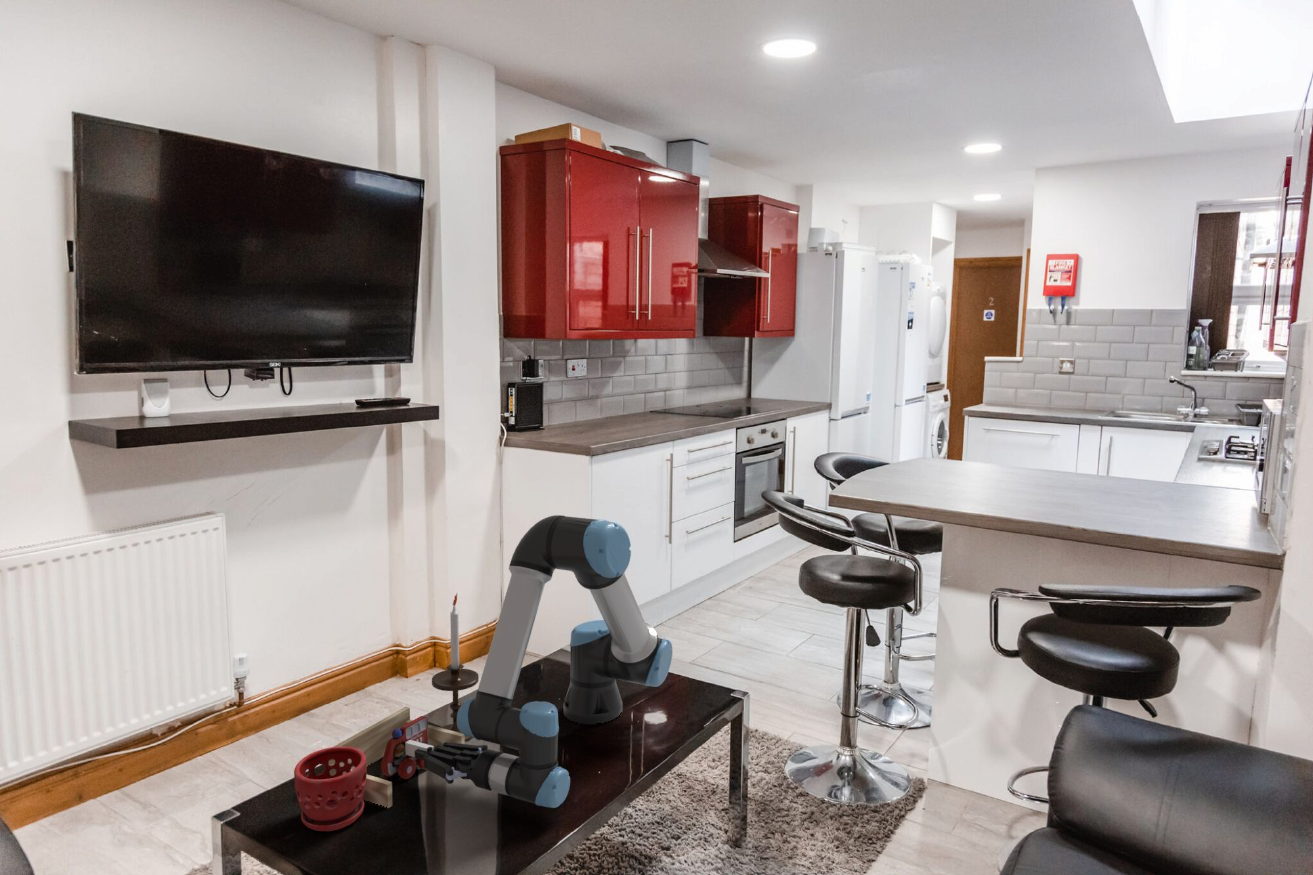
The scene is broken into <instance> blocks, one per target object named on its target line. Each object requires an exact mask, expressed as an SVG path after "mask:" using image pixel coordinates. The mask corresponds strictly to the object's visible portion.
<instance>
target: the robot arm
mask: <svg viewBox="0 0 1313 875" xmlns="http://www.w3.org/2000/svg"><path fill="white" fill-rule="evenodd" d="M630 547H631V540H630V537H629V535H628V532H627V530H626V529H625V528H624V527H623V526H622V525H620V524H619V523H618V522H613V521H609V520H607V519H597V518H596V519H595V518H586V517H585V518H584V517H577V516H576V517H575V516H565V515H560V514H556V515H554V514H553V515H550V516H548V517H544V518H542V519H540V520H538V521H537V522H536V523H535V524H533V526H531V527H530V528H529V529H528V530H527V531H526V533H525V534H524V535H523V536H522V538H520V541H519V542H518V543H517V546H516V547H515V550H514V551H513V553H512V556H511V559H510V562H509V565H508V571H509V572H510V574H511V576H510V579H509V582H508V587H507V589H506V593H505V596H504V600H503V603H502V606H501V609H500V614H499V617H498V619H497V623H496V627H495V630H494V632H493V637H492V641H491V644H490V648H489V650H488V654H487V658H486V660H485V664H484V668H483V671H482V675H481V677H480V681H479V684H478V688H477V691H476V694H475V697H469V698H467V699H465V700H464V701H463V702H462V703H461V704H462V706H461V708H460V709H459V711H458V714H457V727H458V729H459V731H460V732H461V733H462V734H464V735H466V736H469V737H472V739H475V740H477V741H483V742H488V743H491V744H495V745H500V746H503V747H506V748H510V749H514V750H517V751H518V752H519V756H516V755H513V754H511V753H510V754H509V753H505V752H501V751H498V750H494V749H490V748H488V745H486V744H481V745H479V744H478V745H475V744H468V743H467V744H466V743H465V744H459V743H451V742H444V743H443V745H442V746H441V745H437V746H433V745H429V744H424V743H420V742H417V741H413V740H409V741H407V742H406V743H405V749H406V755H409V756H412V757H415V758H417V759H421V760H424V768H425V769H424V770H427V771H429V772H431V773H433V774H434V775H437V776H438V777H440V778H442V779H444V780H445V781H446V783H447V784H449V785H451V784H453V783H454V780H455V779H459V778H460V779H461V780H471V782H472V783H473V785H474V786H476V788H479V789H482V790H485V791H490V792H494V793H498V794H500V795H505V796H509V797H511V798H514V799H518V800H521V801H523V802H527V803H531V804H534V805H536V806H539V807H540V806H541V807H545V808H551V809H554V808H558V807H559V806H560V805H562V804H563V803H564V801H565V800H566V798H567V796H568V794H569V791H570V785H571V777H570V776H569V774H570V773H569V771H568V770H567V769H565V768H563V767H562V766H559V759H558V745H559V744H558V743H559V730H560V726H559V713H558V712H559V711H558V708H557V707H556V706H555V704H553V703H551V702H548V701H539V700H536V701H530V702H527V703H525V704H524V705H522V707H521V708H517V707H513V706H512V703H513V699H514V695H515V691H516V687H517V684H518V681H519V677H520V674H521V669H522V667H523V662H524V659H525V656H526V652H527V650H528V649H527V648H528V646H529V641H530V638H531V635H532V631H533V628H534V624H535V621H536V616H537V614H538V611H539V606H540V602H541V600H542V596H543V593H544V588H545V586H546V584H547V583H548V582H550V581H551V580H552V577H553V574H554V571H555V570H561V571H567V572H568V571H569V572H572V573H573V574H574V576H575V578H576V581H577V582H578V584H579V585H580V586H581V587H583V588H584V589H587V590H589V591H590V594H591V596H592V599H593V600H594V602H595V605H596V606H597V608H598V610H599V613H600V615H601V616H602V619H597V620H589V621H586V622H583V623H579V624H578V625H576V626H574V628H572V630H571V632H570V642H569V648H570V652H569V653H570V654H569V655H570V658H569V659H570V660H569V664H570V665H569V666H570V680H569V681H570V682H569V686H568V689H567V692H566V696H565V698H564V702H563V715H564V718H566V717H567V718H566V719H568V720H569V721H572V722H573V721H574V723H576V722H577V724H581V723H585V724H584V725H597V724H596V723H602V724H605V723H604V722H607V721H610V720H612V719H614V718H616V717H618V716H619V715H620V713H621V712H622V713H623V700H622V697H621V694H620V691H619V687H618V684H617V680H619V681H623V682H628V683H634V684H638V685H644V687H653V688H655V687H659V686H661V685H662V684H663V683H664V682H665V680H666V678H667V677H668V674H669V672H670V667H671V665H672V664H671V663H672V658H673V645H672V644H673V643H672V642H671V641H670V640H669V639H666V638H665V637H663V638H661V637H659V636H658V634H657V632H656V630H655V628H654V627H653V626H652V625H651V624H649V623H647V622H645V619H644V617H643V615H642V612H641V610H640V607H639V605H638V603H637V600H636V598H635V595H634V593H633V591H632V588H631V586H630V584H629V581H628V579H627V576H626V574H625V572H626V571H627V569H628V568H629V565H630V561H631V556H632V550H630ZM620 716H621V715H620ZM618 718H619V717H618ZM610 722H611V721H610ZM607 723H608V722H607ZM449 747H450V748H449Z"/></svg>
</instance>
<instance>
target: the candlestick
mask: <svg viewBox="0 0 1313 875" xmlns="http://www.w3.org/2000/svg"><path fill="white" fill-rule="evenodd" d="M457 600H458V593H456V594H455V595H454V599H453V601H452V611H450V616H449V618H450V664H448V665H447V666H446V670H442V671H440V672H437V673H436V674H434V675H433V676H432V677H431V685H432V688H435V689H437V690H439V691H444V692H452V702H451V703H450V704H449V709H450V710H451V711H452V712H451V713H450V718H452V723H450V724H446V725H443V726H442V727H441V728H443V729H447V730H451V731H455V732H458V733H461V732H460V731H459V729H458V727H457V714H458V711H459V709H460V708H461V707H462V704H463V703H462V702H460V701H459V691H464V690H467V689H470V688H473V687H474V686H476V685H477V684H478V683H479V682H480V681H479V673H478V672H477V671H475V670H472V669H468V668H464V667H465V666H464V665H463V664H462V663H460V635H459V634H460V631H459V630H460V629H459V628H460V624H459V623H460V621H459V619H460V618H459V616H460V615H459V614H460V613H459V611H458V610H457V607H456V605H457V602H458V601H457ZM472 739H473V738H472V737H469V736H466V735H465V743H467V742H469V741H470V740H472Z"/></svg>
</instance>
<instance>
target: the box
mask: <svg viewBox="0 0 1313 875" xmlns="http://www.w3.org/2000/svg"><path fill="white" fill-rule="evenodd" d="M413 720H414V719H411V708H410V707H409V706H404V707H403V708H401V709H400V710H397V711H395V712H394V713H391V715H388V716H387V717H385V718H383V719H381V720H379V721H377V722H376V723H374V724H372V725H370V726H368V727H367V728H364V729H363V730H361V731H359V732H358V733H356V734H354V735H352V736H350V737H348V738H347V739H345V740H343V741H341V742H339V743H337V744H336V745H334V746H333V747H340V746H345V747H353V748H357V749H359V750H361V751H362V752H363V753H364V754H365V757H366V766H367V767H369V766H371V765H372V764H374V763H375V762H378V760H380V759H383V756H384V753H385V749H386V746H387V742H388V741H389V740H390V739H391V738H393V737H392V732H393V730H395V729H400V728H401V727H402V726H404V725H405V724H407V723H409V722H411V721H413ZM427 735H428V744H429V745H433V746H437V745H441V746H442V745H443V743H444V742H451V743H459V744H466V742H465V735H464V734H462V733H458V732H455V731H451V730H447V729H443V728H442V727H439V726H435V725H431V724H428V728H427ZM400 743H401V742H400ZM449 748H450V747H449ZM348 762H349V763H352V761H351V759H348ZM371 763H372V764H371ZM328 764H329V765H334V764H335V760H333V759H332V760H329V762H328ZM368 765H369V766H368ZM340 766H344V763H343V762H341V763H340ZM355 768H356V767H354V766H353V767H352V768H351V771H352V770H354V769H355ZM335 774H336V770H335V769H331V770H330V775H335ZM344 774H347V773H346V772H343V775H344ZM362 799H363V801H364V800H365V801H364V802H367V801H370V802H372V803H371V804H373V803H375V804H374V805H376V804H378V805H377V806H380V805H382V806H381V807H383V806H384V807H383V808H386V807H387V808H386V809H389V808H391V807H392V806H393V782H392V781H389V780H387V779H383V778H381V777H377V776H373V775H370V774H367V778H366V786H365V791H364V794H363V797H362ZM370 802H369V803H370Z"/></svg>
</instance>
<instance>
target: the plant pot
mask: <svg viewBox="0 0 1313 875" xmlns="http://www.w3.org/2000/svg"><path fill="white" fill-rule="evenodd" d="M332 759H333V760H335V764H334V765H329V764H328V762H329V760H332ZM348 759H351V761H352V763H349V762H348ZM341 762H343V763H344V766H340V763H341ZM319 765H323V767H324V769H323V771H322V773H319V774H316V773H315V771H316V768H317V766H319ZM353 766H354V767H356V768H355V769H354V770H352V771H351V768H352V767H353ZM367 767H368V766H366V757H365V754H364V753H363V752H362V751H361V750H359V749H357V748H353V747H345V746H340V747H334V746H332V747H326V748H321V749H319V750H316V751H313V752H312V753H309V754H308V755H306V756H304V757H302V758H301V760H299V762H297V763H296V765H295V767H294V768H293V769H294V770H293V776H294V777H293V779H294V787H295V788H294V789H295V794H296V797H297V801H298V804H299V807H300V809H301V812H300V813H301V815H300V818H301V822H302V823H303V824H304V825H305V826H306V827H307V828H308V829H311V830H314V831H318V832H332V831H337V830H341V829H343V828H346V827H347V826H349V825H351V824H352V823H355V821H357V819H358V818H359V817H360V816H361V815H362V814H363V812H364V808H365V801H364V800H363V799H362V797H363V794H364V791H365V786H366V778H367V775H368V773H367V771H368V770H367ZM331 769H335V770H336V774H335V775H330V770H331ZM307 771H308V773H307ZM343 772H346V773H347V774H344V775H343ZM306 773H307V774H306Z"/></svg>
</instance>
